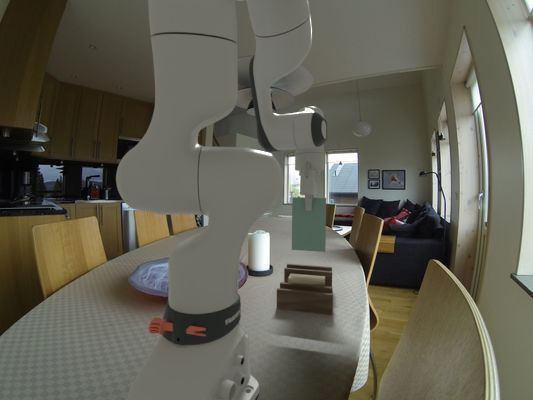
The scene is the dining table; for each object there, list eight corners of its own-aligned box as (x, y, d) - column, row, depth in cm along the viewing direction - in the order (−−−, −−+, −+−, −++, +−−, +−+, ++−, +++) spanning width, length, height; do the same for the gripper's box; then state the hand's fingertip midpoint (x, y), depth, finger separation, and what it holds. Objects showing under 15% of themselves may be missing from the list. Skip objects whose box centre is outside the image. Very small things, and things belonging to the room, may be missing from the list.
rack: (332, 321, 63) (332, 287, 63) (276, 314, 66) (276, 281, 66) (331, 294, 80) (332, 266, 79) (286, 289, 83) (287, 263, 83)
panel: (325, 251, 76) (326, 197, 75) (291, 249, 78) (292, 197, 78) (325, 250, 78) (326, 197, 77) (292, 248, 80) (293, 197, 80)
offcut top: (324, 288, 69) (324, 281, 69) (288, 285, 72) (288, 278, 72) (324, 283, 74) (325, 276, 74) (290, 279, 76) (290, 273, 76)
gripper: (319, 159, 66) (318, 213, 67) (321, 167, 86) (320, 208, 87) (294, 160, 68) (294, 212, 68) (302, 167, 88) (302, 208, 88)
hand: (309, 210), depth 77 cm, fingers closed on panel, 2 cm apart
